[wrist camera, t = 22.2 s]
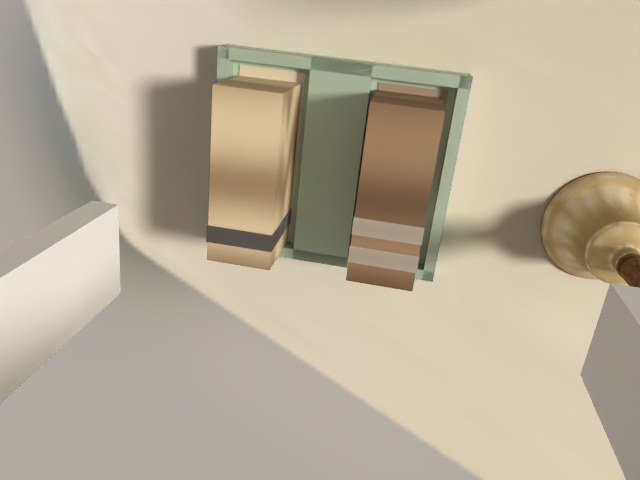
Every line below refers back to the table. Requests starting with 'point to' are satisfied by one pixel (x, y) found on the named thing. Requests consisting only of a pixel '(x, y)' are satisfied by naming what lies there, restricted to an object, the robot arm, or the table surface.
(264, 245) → the oak bar
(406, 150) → the walnut bar
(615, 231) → the hand bell
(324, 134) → the pale green flat frame
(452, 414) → the table surface
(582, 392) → the table surface
